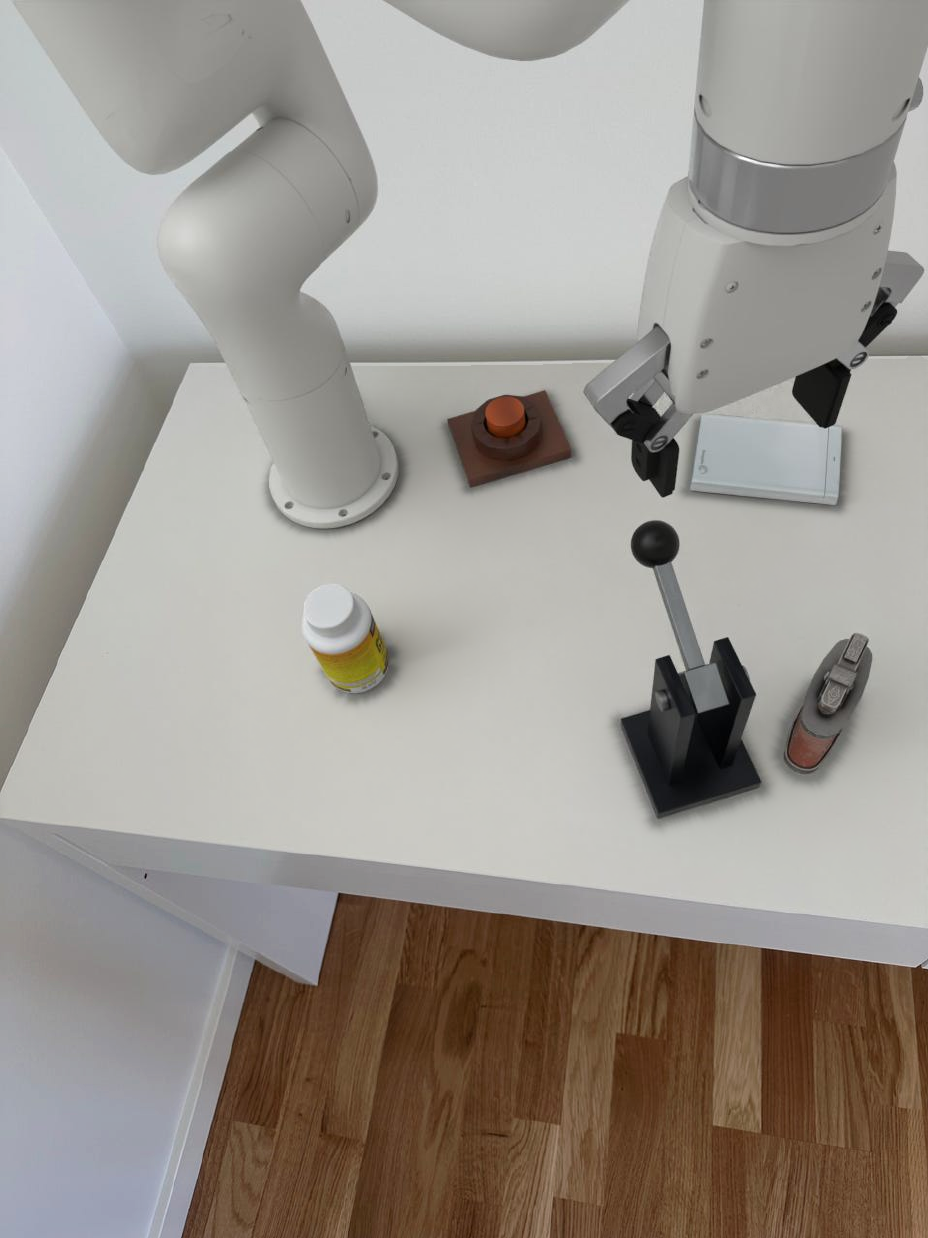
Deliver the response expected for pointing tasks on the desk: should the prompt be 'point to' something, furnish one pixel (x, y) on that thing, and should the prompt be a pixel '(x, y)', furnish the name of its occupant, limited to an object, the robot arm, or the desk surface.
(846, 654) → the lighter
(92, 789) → the desk surface
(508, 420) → the button
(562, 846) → the desk surface
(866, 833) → the desk surface
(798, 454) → the hard drive
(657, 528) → the lever
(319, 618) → the supplement bottle
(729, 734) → the bracket
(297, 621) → the desk surface
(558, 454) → the button block
